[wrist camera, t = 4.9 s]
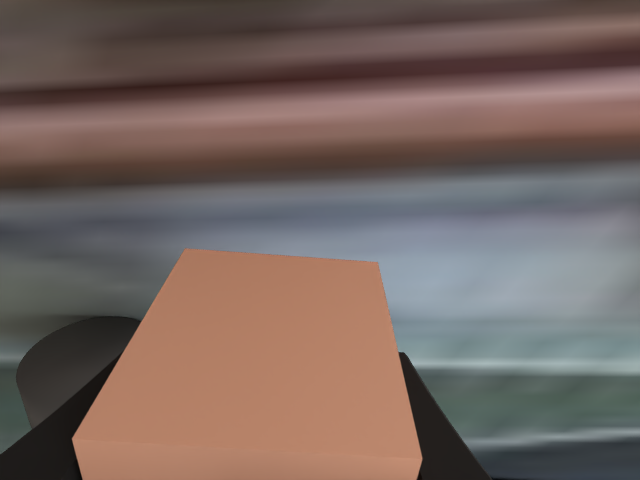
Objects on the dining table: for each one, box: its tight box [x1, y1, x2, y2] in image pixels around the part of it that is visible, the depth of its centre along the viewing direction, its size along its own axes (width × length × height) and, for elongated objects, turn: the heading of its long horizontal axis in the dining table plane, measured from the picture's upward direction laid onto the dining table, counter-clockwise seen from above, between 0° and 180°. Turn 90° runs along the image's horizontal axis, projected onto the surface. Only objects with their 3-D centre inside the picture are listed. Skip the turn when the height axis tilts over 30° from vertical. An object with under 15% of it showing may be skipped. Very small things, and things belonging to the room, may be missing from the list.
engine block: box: [72, 248, 422, 480], centre depth 8 cm, size 4×4×6 cm
